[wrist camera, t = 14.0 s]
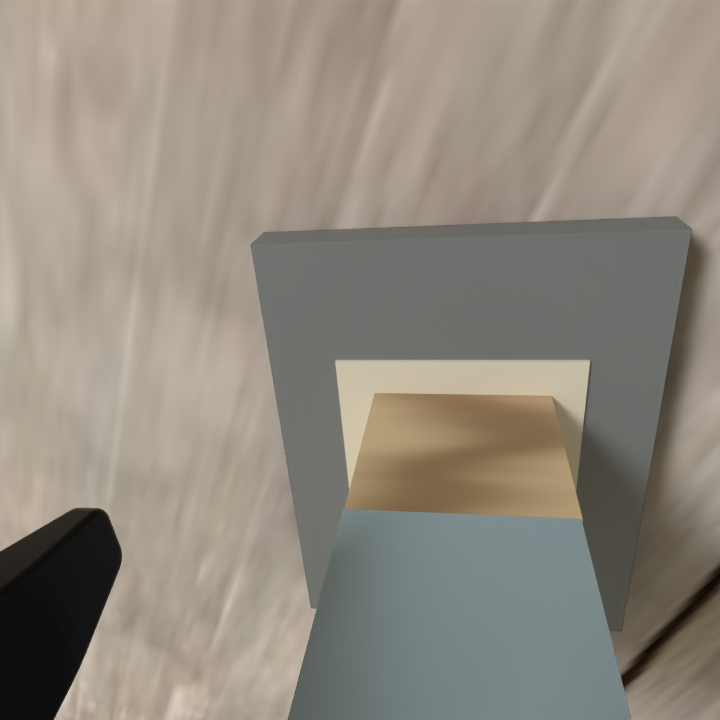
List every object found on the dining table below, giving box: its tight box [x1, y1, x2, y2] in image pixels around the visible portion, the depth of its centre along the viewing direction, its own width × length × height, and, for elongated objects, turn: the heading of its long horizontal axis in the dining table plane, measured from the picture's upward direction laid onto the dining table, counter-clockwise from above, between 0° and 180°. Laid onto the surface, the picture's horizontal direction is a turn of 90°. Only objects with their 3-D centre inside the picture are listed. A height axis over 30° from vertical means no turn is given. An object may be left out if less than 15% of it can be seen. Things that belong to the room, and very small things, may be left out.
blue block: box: [288, 509, 631, 720], centre depth 12 cm, size 5×5×5 cm
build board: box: [251, 217, 692, 631], centre depth 19 cm, size 11×14×1 cm
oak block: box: [345, 393, 583, 523], centre depth 16 cm, size 5×5×5 cm
